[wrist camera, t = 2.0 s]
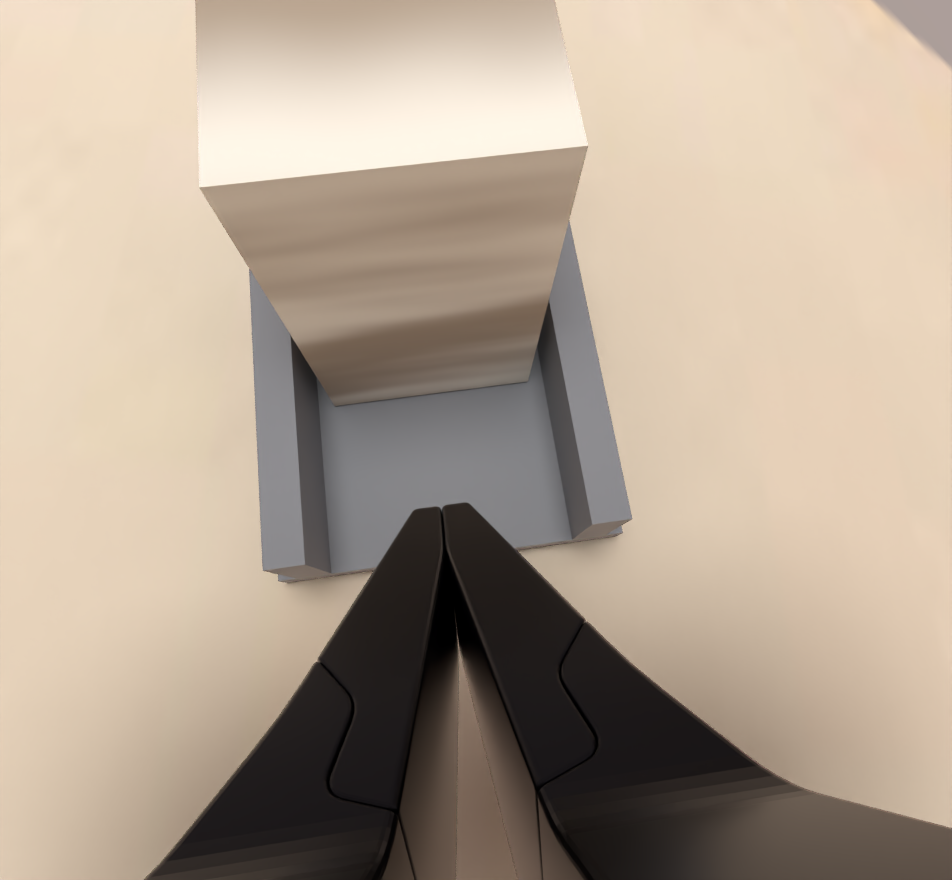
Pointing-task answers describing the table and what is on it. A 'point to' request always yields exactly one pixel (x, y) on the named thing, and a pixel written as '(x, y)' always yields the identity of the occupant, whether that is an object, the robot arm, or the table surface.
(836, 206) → the table surface
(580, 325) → the gray chute
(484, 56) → the cream block
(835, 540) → the table surface
